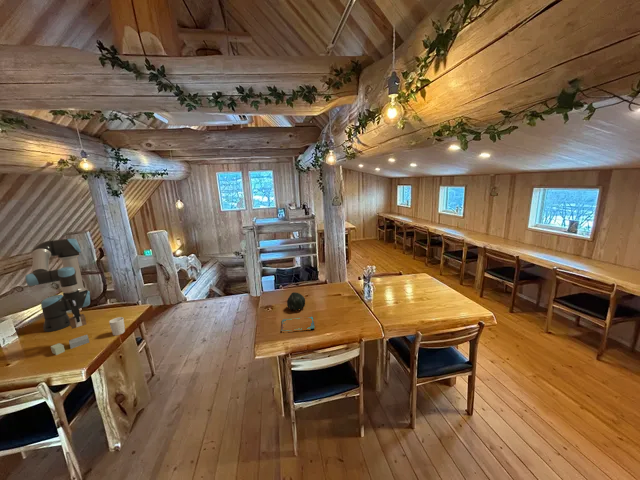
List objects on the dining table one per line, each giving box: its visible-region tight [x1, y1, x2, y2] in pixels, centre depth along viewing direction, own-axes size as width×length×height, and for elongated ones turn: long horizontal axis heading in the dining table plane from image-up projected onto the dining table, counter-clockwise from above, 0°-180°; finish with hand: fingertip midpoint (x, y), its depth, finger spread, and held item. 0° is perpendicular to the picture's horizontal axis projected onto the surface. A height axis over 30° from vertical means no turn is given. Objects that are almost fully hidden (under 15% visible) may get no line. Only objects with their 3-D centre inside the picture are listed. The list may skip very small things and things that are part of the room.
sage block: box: [50, 342, 66, 356], centre depth 159 cm, size 6×4×4 cm, turn 64°
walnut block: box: [69, 313, 87, 330], centre depth 166 cm, size 6×7×6 cm
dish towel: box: [280, 316, 316, 332], centre depth 181 cm, size 17×23×2 cm
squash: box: [286, 292, 306, 311], centre depth 206 cm, size 14×15×15 cm
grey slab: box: [68, 334, 90, 350], centre depth 168 cm, size 7×9×4 cm
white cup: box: [108, 316, 126, 336], centre depth 179 cm, size 8×8×10 cm
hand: (78, 324), depth 167 cm, fingers closed on walnut block, 5 cm apart
